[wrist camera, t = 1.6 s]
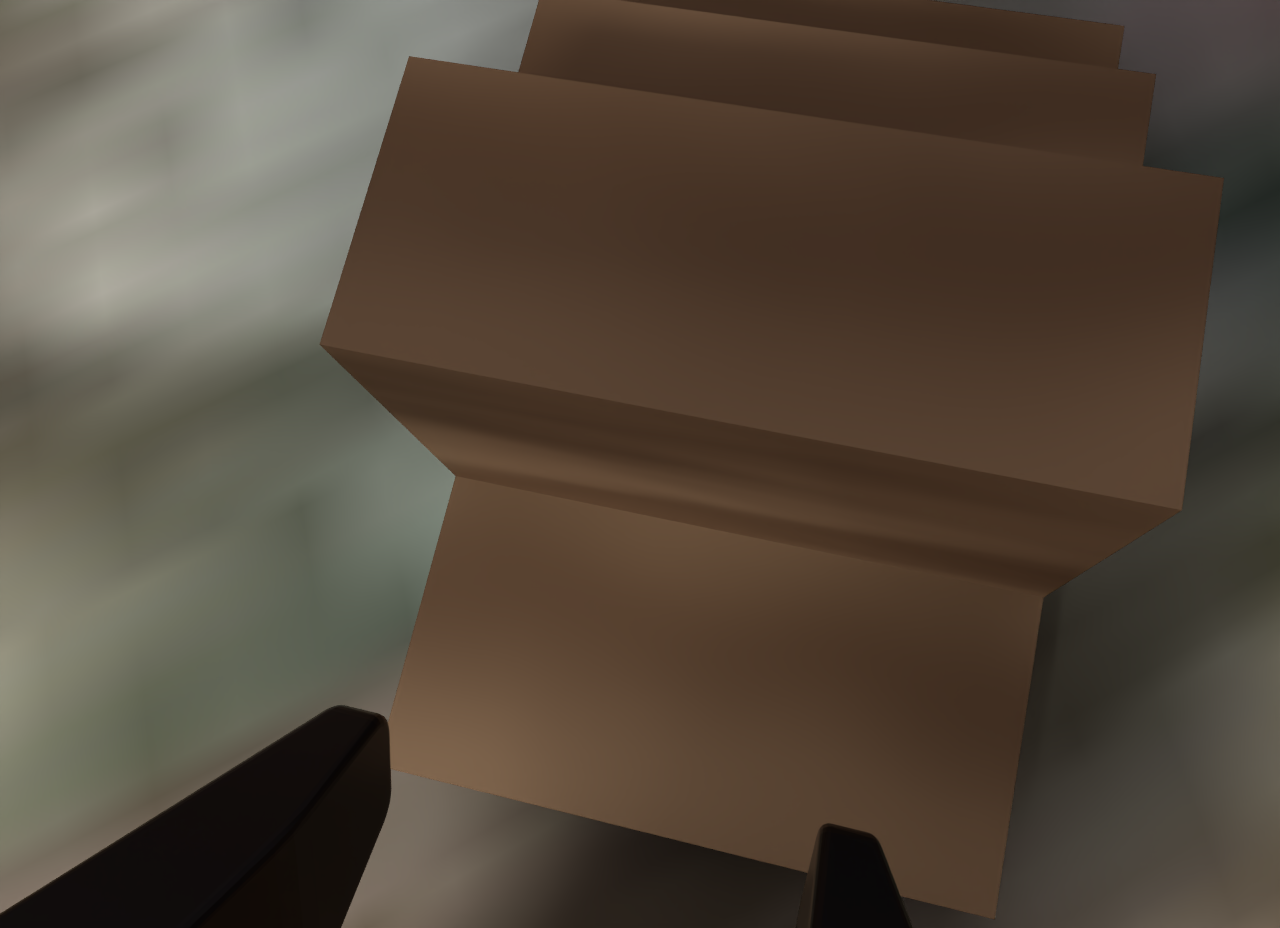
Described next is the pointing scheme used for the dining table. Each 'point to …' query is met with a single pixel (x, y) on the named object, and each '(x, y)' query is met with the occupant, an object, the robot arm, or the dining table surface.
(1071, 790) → the dining table surface
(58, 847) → the dining table surface
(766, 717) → the brown stepped block
